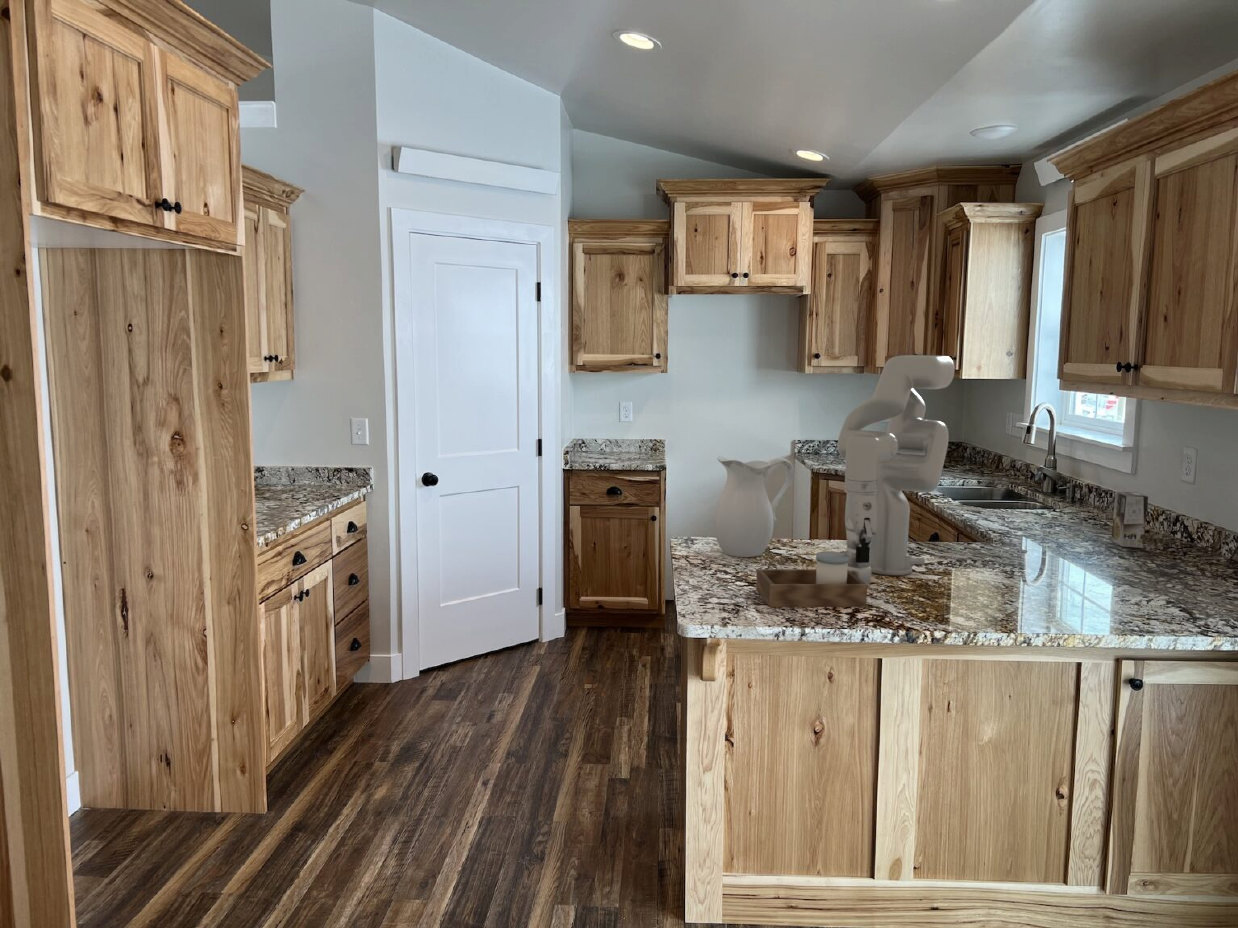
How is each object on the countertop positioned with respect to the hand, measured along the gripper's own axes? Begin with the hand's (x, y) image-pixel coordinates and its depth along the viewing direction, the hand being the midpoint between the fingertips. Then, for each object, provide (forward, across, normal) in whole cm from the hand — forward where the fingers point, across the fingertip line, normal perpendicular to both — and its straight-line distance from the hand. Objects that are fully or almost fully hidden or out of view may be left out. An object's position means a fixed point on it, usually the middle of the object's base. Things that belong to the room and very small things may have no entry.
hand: (857, 558), depth 206 cm
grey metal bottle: (+7, 0, 0) cm, 7 cm away
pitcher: (+9, +39, +17) cm, 43 cm away
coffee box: (+12, +50, -104) cm, 116 cm away
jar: (+6, -10, +10) cm, 15 cm away
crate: (+7, -10, +15) cm, 19 cm away
